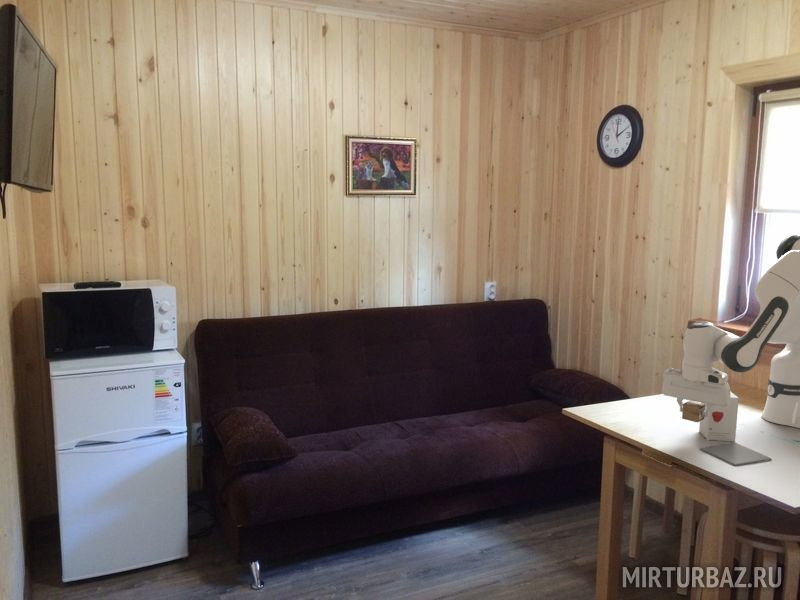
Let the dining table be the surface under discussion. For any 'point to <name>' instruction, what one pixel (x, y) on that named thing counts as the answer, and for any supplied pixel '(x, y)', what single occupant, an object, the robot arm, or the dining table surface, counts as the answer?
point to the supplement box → (721, 421)
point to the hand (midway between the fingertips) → (693, 413)
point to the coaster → (735, 454)
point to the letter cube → (693, 411)
